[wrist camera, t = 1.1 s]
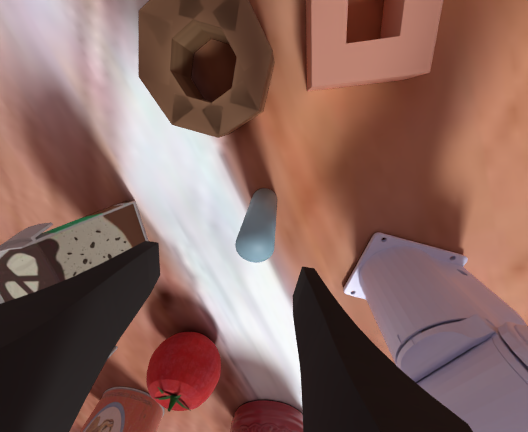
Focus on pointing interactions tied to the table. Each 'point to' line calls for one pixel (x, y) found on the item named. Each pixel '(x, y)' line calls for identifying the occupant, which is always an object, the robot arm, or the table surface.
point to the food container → (66, 249)
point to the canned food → (125, 412)
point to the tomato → (183, 371)
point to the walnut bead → (181, 60)
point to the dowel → (258, 227)
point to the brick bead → (369, 44)
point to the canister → (267, 417)
